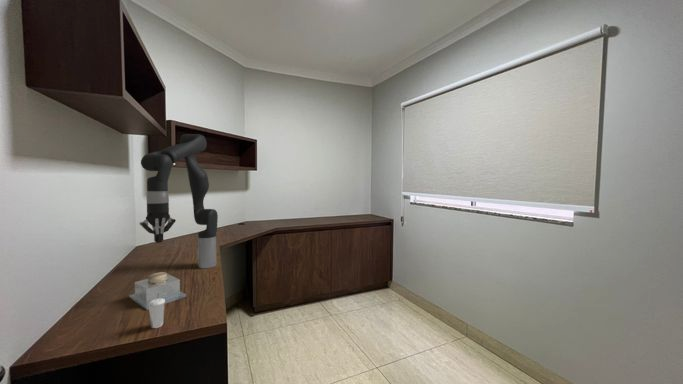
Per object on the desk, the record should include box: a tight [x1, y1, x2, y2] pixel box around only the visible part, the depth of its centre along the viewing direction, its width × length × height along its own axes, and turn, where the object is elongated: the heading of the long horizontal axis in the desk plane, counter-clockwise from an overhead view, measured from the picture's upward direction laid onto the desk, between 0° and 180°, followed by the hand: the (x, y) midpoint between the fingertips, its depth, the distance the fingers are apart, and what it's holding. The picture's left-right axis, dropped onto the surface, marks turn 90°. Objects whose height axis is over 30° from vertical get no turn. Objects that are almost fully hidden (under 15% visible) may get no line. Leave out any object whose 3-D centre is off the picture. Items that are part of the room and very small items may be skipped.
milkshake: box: [148, 293, 166, 329], centre depth 86 cm, size 4×5×10 cm
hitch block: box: [128, 273, 187, 311], centre depth 107 cm, size 18×14×7 cm
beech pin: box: [147, 271, 168, 284], centre depth 107 cm, size 6×6×8 cm
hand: (158, 242), depth 107 cm, fingers closed
